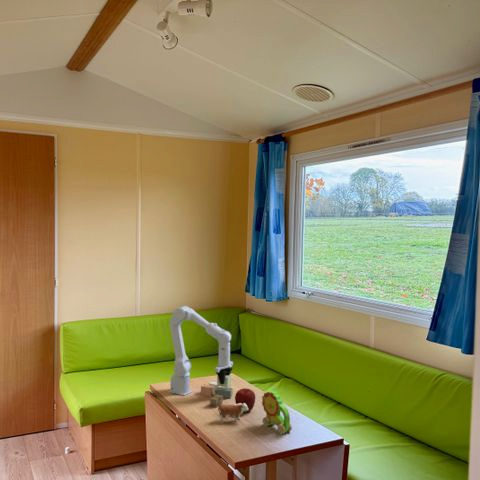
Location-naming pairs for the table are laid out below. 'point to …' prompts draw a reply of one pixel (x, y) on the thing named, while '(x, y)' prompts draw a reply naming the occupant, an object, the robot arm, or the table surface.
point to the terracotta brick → (207, 389)
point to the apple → (245, 398)
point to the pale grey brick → (214, 385)
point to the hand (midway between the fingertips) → (223, 382)
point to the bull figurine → (232, 410)
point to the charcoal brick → (224, 392)
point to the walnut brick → (216, 401)
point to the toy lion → (275, 412)
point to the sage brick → (227, 381)
